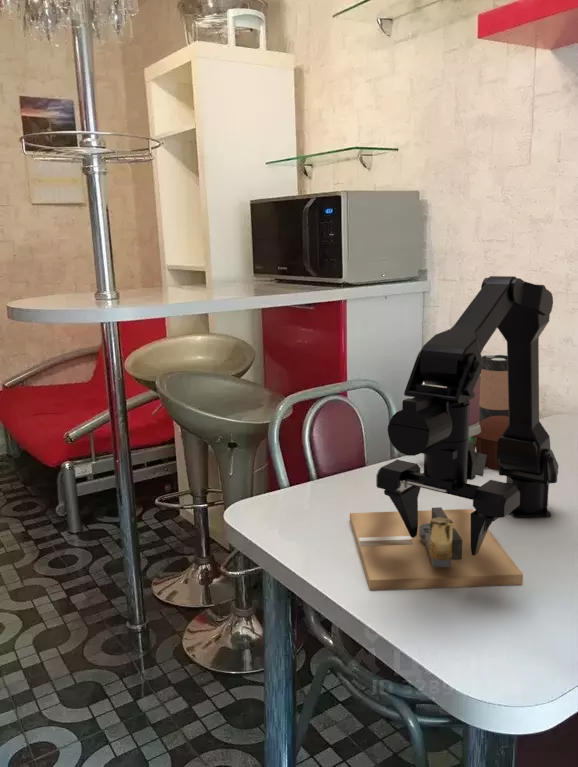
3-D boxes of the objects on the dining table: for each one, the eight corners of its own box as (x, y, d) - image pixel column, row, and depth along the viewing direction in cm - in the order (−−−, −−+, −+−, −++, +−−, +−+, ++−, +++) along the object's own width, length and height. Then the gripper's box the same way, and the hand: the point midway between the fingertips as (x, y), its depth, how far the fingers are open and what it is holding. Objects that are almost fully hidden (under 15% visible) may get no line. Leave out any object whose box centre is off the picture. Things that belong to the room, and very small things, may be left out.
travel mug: (507, 448, 150) (511, 361, 146) (473, 444, 154) (476, 359, 150) (516, 440, 157) (520, 356, 152) (483, 435, 161) (486, 353, 156)
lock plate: (472, 517, 114) (473, 492, 113) (522, 584, 91) (524, 554, 90) (349, 521, 113) (349, 496, 112) (369, 590, 91) (369, 559, 90)
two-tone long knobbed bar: (417, 530, 103) (418, 492, 102) (441, 530, 103) (442, 492, 102) (428, 568, 91) (429, 526, 90) (455, 568, 91) (456, 526, 90)
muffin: (460, 459, 144) (462, 414, 142) (500, 452, 148) (502, 408, 146) (499, 476, 133) (501, 428, 131) (540, 467, 138) (543, 420, 136)
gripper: (538, 434, 89) (532, 542, 92) (414, 413, 101) (413, 510, 104) (505, 455, 81) (499, 573, 84) (374, 430, 92) (373, 535, 96)
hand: (443, 545), depth 92 cm, fingers open, 9 cm apart
